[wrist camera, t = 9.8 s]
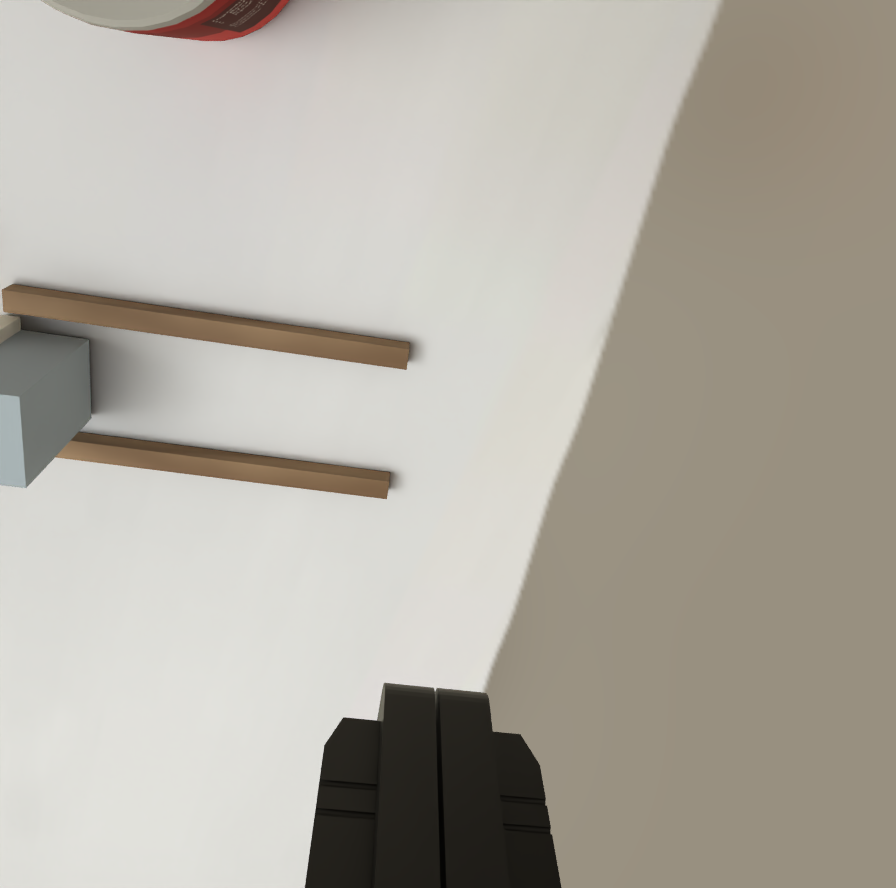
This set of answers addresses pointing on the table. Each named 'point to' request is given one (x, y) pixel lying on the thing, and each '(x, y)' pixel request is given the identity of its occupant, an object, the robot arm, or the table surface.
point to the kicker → (39, 398)
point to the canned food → (175, 16)
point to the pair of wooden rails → (220, 332)
